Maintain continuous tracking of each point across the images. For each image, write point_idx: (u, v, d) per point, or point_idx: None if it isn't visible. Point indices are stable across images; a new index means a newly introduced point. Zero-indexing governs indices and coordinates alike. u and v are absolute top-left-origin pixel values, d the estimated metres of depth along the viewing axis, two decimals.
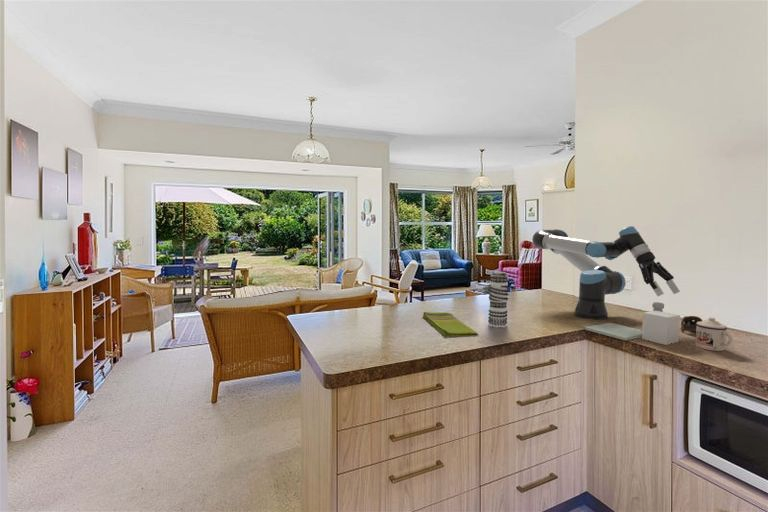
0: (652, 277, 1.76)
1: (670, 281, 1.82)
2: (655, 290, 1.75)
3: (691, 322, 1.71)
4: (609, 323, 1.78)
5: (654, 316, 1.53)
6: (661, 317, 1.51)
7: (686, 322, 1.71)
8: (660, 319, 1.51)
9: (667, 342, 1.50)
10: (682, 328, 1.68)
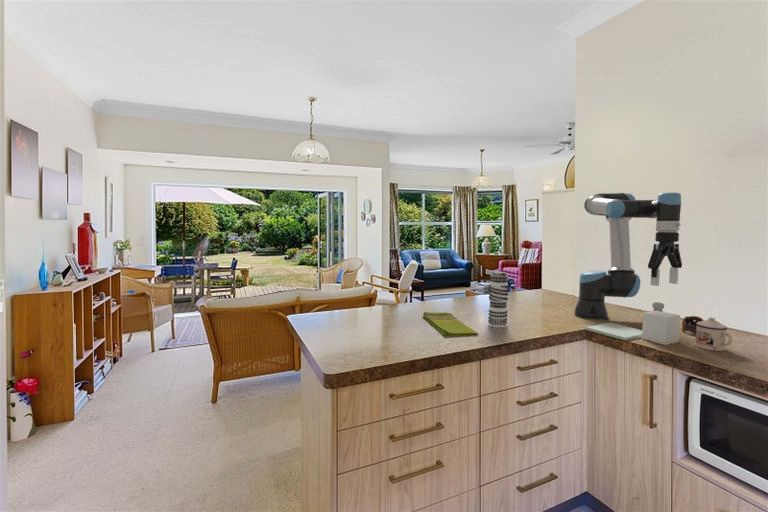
0: (659, 264, 1.49)
1: (675, 269, 1.56)
2: (652, 278, 1.51)
3: (692, 322, 1.70)
4: (609, 323, 1.78)
5: (654, 316, 1.53)
6: (661, 317, 1.51)
7: (687, 322, 1.71)
8: (660, 319, 1.51)
9: (667, 342, 1.50)
10: (683, 328, 1.67)
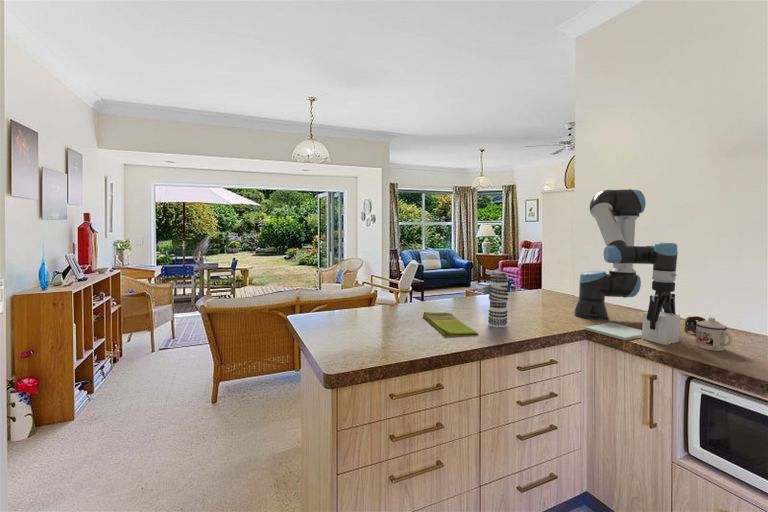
0: (657, 316, 1.51)
1: None
2: (651, 330, 1.54)
3: (695, 323, 1.70)
4: (609, 323, 1.78)
5: None
6: (661, 317, 1.51)
7: (689, 322, 1.70)
8: (660, 319, 1.51)
9: (667, 342, 1.50)
10: (686, 328, 1.67)
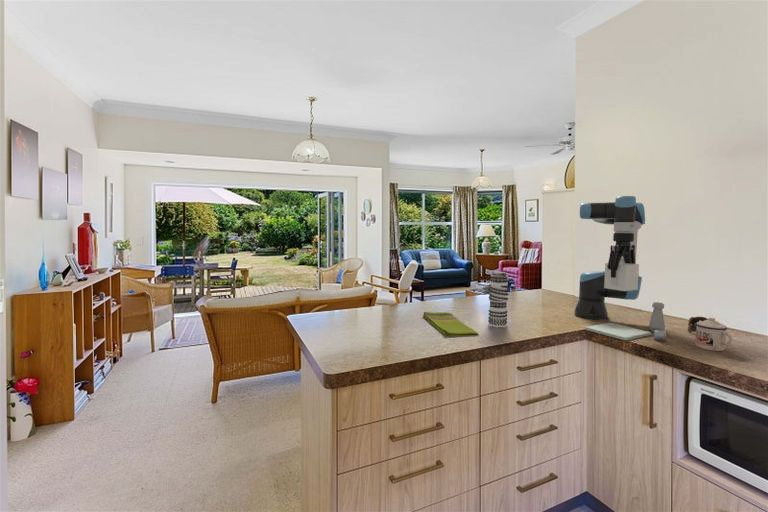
0: (617, 265, 1.61)
1: None
2: (612, 278, 1.63)
3: None
4: (609, 323, 1.78)
5: None
6: (621, 265, 1.61)
7: (693, 323, 1.70)
8: (620, 267, 1.61)
9: (626, 289, 1.60)
10: (689, 329, 1.66)
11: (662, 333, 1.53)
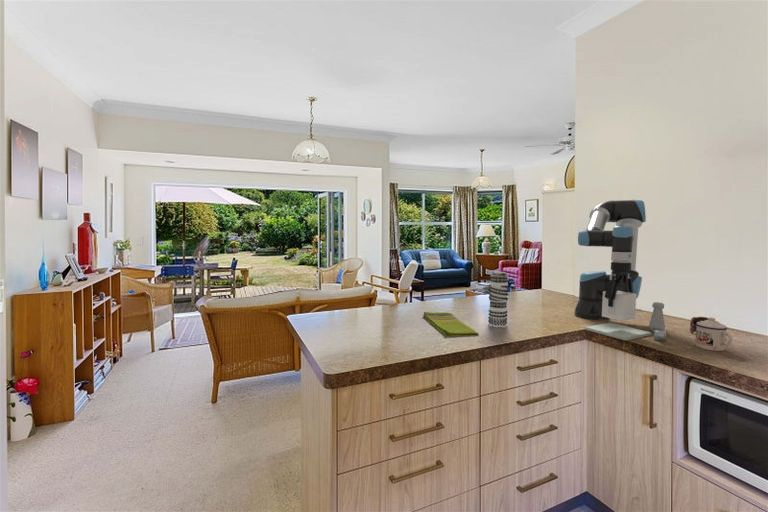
0: (614, 294, 1.62)
1: None
2: (609, 307, 1.64)
3: None
4: (609, 323, 1.78)
5: None
6: (618, 295, 1.62)
7: (695, 323, 1.70)
8: (617, 297, 1.62)
9: (623, 318, 1.61)
10: (691, 329, 1.66)
11: (662, 333, 1.53)
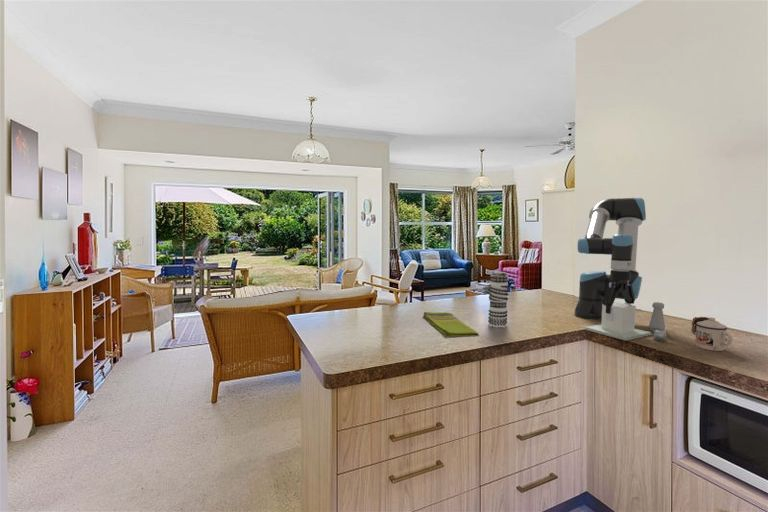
0: (612, 301, 1.62)
1: None
2: (607, 314, 1.64)
3: None
4: None
5: None
6: (617, 308, 1.62)
7: (696, 323, 1.69)
8: (616, 309, 1.62)
9: (623, 331, 1.61)
10: (693, 329, 1.66)
11: (662, 333, 1.53)
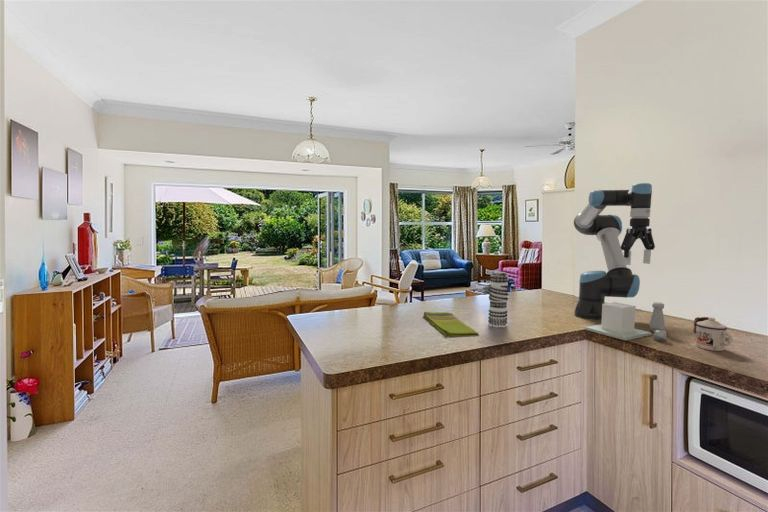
0: (630, 246, 1.71)
1: (648, 251, 1.77)
2: (625, 258, 1.73)
3: None
4: None
5: (611, 307, 1.64)
6: (617, 308, 1.62)
7: None
8: (616, 309, 1.62)
9: (623, 331, 1.61)
10: (695, 329, 1.66)
11: (662, 333, 1.53)
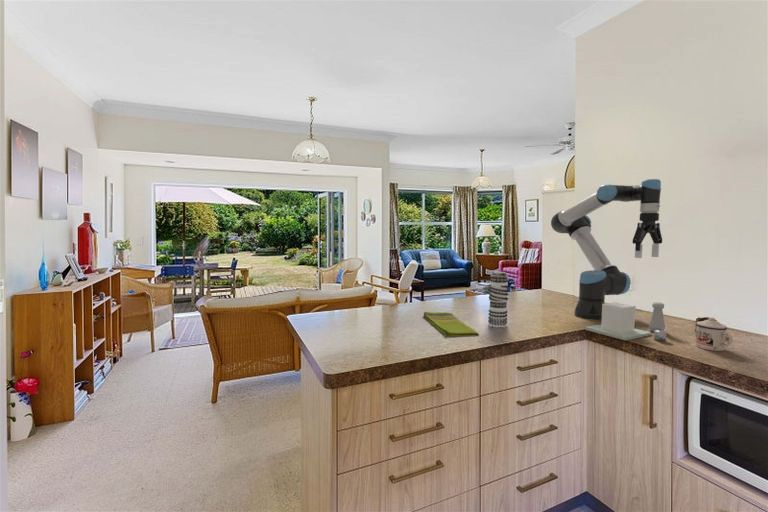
0: (642, 240, 1.77)
1: (656, 245, 1.84)
2: (636, 252, 1.79)
3: None
4: None
5: (611, 307, 1.64)
6: (617, 308, 1.62)
7: None
8: (616, 309, 1.62)
9: (623, 331, 1.61)
10: None
11: (662, 333, 1.53)
